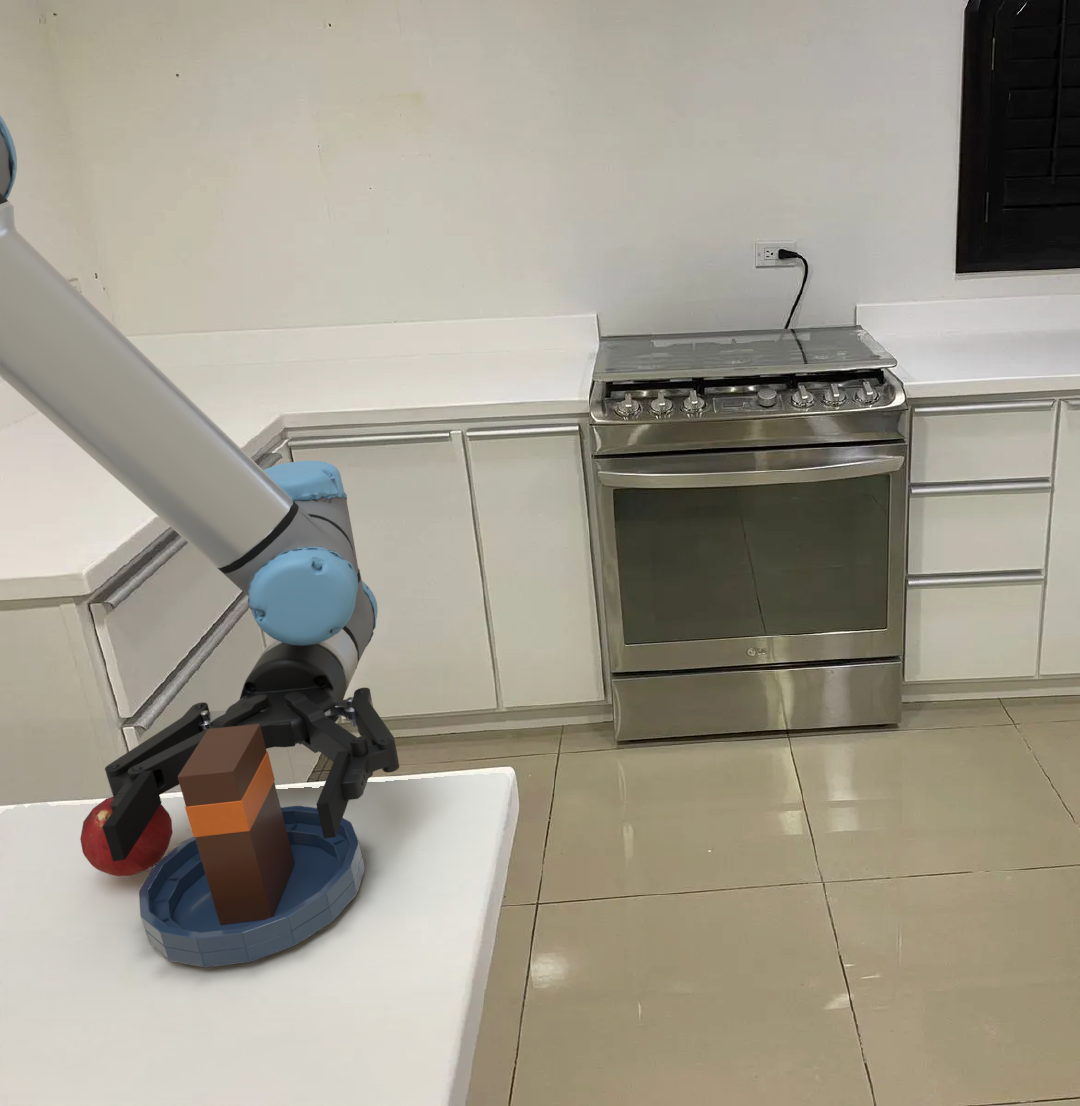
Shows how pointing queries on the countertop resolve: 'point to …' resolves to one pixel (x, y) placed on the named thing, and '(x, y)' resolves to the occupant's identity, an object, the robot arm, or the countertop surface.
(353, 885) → the bowl
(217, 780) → the snack carton
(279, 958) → the countertop surface
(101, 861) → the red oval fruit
